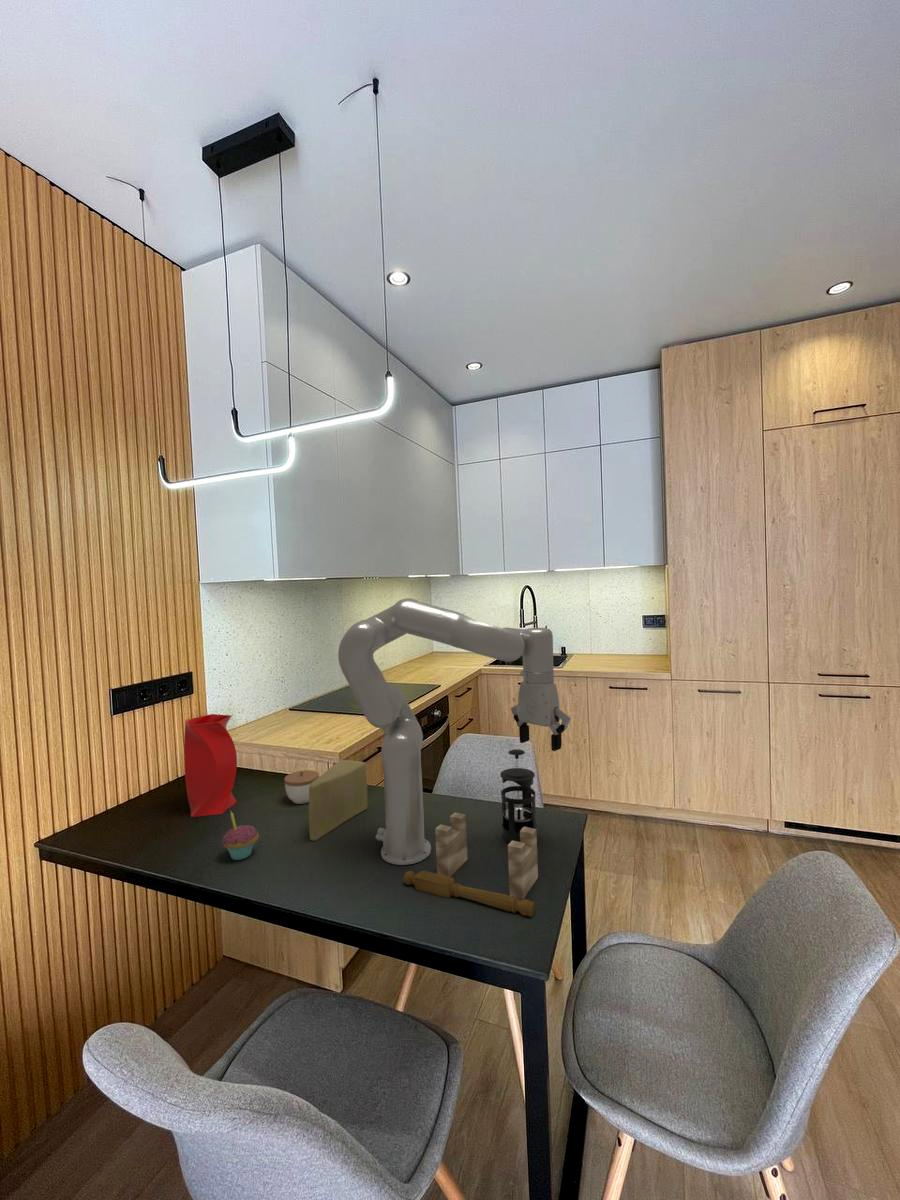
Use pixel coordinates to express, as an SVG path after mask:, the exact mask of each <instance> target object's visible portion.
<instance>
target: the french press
mask: <svg viewBox="0 0 900 1200" xmlns="http://www.w3.org/2000/svg"><path fill="white" fill-rule="evenodd" d="M525 753H526V752H525V751H524V750H523V749H511V750H509V751H508V754H509V755H511V756H514V759H516V760H515V761H516V764H515V765H516V767H514V768H513V767H512V768H508V769H507V768H506V769H504V770H502V771H501V772H500V777H501V781H502V784H505V783H506V782H513V783H516V785H513V786H512V785H511V786H507V787H505V788H503V789H501V791H500V798H501V807H502V809H501V811H502V824H501V825H502V830H501V831H502V834H501V840H502V841H503V842H504V843H505V844H507V845H509V843H510V842H511V841H512V840H513V841H517V842H520V832H516V831H520V830H521V829H522V828H523V827H528V828H533V829H536V834H537V841H538V839H539V836H538V832H537V831H538V830H537V828H538V827H537V826H538V825H537V815H536V814H537V813H536V812H537V811H536V798H537V797H536V796H537V795H536V791H535V790H534V789H533V788H532V786H533V785H534V778H535V775H536V774H535V772H534V771H533V770H530V769H527V768H520V767H519V763H518V762H519V758H520V757H519V756H523V755H524V754H525ZM511 792H517V798H509V797H507V796H506V794H507V793H511ZM520 792H522V793H521V796H522V798H521V799H520ZM506 804H507V805H506ZM515 805H517V806H515ZM520 805H522V806H520Z"/></svg>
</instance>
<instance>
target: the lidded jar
mask: <svg viewBox="0 0 900 1200" xmlns="http://www.w3.org/2000/svg"><path fill="white" fill-rule="evenodd" d="M319 777H320V773H319V772H318V771H316V770H311V769H310V770H299V771H294V772H292V773H289V774H287V775H286V776H285V777H284V779H283V780H284V789H285V793H286V795H287V797H288V799H289V800H290V801H292V802H293V803H294V804H297V805H303V804H307V803H308V804H309V786H310V784H311V783H312V782H313V781H315V780H316V779H317V778H319Z"/></svg>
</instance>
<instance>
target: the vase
mask: <svg viewBox="0 0 900 1200" xmlns="http://www.w3.org/2000/svg"><path fill="white" fill-rule="evenodd" d="M231 718H232V715H231V714H230V715H229V714H217V713H216V714H215V713H211V714H206V715H202V716H197V717H193V718H187V719H185V721H184V723H185V724H184V749H183V750H184V751H183V752H184V778H185V780H184V781H185V788H186V789H185V790H186V795H187V802H188V805H189V810H190V817H191V818H196V817H206V816H213V815H215V816H216V815H221V814H223V813H224V812H226V811H227V810H228V809H230V808H231V807H232V806H234V805H235V804H236V803H237V800H236V798H235V796H234V795H233V793H232V791H233V788H234V784H235V780H236V775H237V769H238V768H237V766H238V759H237V756H238V755H237V749H236V747H235V742H234V740H233V738H232V736H231V735H230V733H229V731H228V729H227V725H228V723H229V721H230V719H231Z"/></svg>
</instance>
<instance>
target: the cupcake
mask: <svg viewBox="0 0 900 1200" xmlns="http://www.w3.org/2000/svg"><path fill="white" fill-rule="evenodd" d="M229 811H230V819H231V822H232V827H233V828H230V829H229V830H228V831H226V833H225V834H224V835H223V837H222V839H221V841H222V845H223V847H224V848H226V849H227V850H228V851H227V852H228V853H229V855H230V858H231V859H232V860H235V861H238V860H239V861H240V860H241V861H242V860H244V859H247V858H248V857H250V856H251V855H252V853H253V848H254V844H255V843H256V842H257V841H258V840H259V839H260V838H259V837H260V836H259V832H258V831H259V830H258V829H257V828H256V827H254V826H253V825H249V824H245V825H243V824H241V825H238V826H237V823H236V821H235V820H236V819H235V815H234V812H232V810H229Z"/></svg>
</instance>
